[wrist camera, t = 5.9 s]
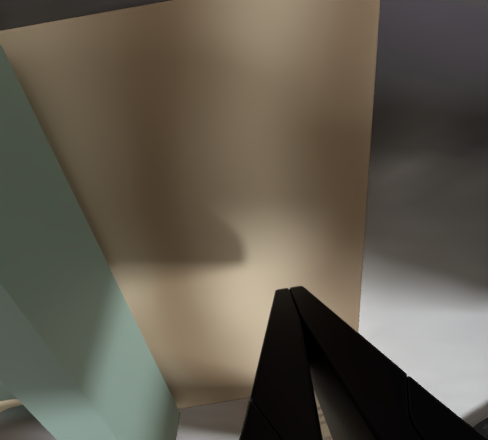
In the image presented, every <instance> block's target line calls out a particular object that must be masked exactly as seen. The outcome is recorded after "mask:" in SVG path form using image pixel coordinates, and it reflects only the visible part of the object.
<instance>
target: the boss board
mask: <svg viewBox="0 0 488 440" xmlns="http://www.w3.org/2000/svg"><path fill="white" fill-rule="evenodd" d="M379 10H380V0H170V1H165V2H159V3H153V4H148V5H142V6H137V7H131V8H125V9H120V10H114V11H109V12H103V13H97V14H92V15H86V16H81V17H75V18H69V19H64V20H58V21H53V22H47V23H41V24H36V25H30V26H25V27H19V28H13V29H8V30H2V31H0V45H1V46H2V47H3V49H4V52H5V54H6V56H7V58H8V60H9V62H10V64H11V66H12V68H13V70H14V72H15V74H16V76H17V78H18V80H19V82H20V84H21V86H22V89H23V91H24V93H25V95H26V97H27V99H28V101H29V103H30V105H31V107H32V109H33V111H34V113H35V115H36V117H37V119H38V121H39V124H40V126H41V128H42V130H43V132H44V134H45V136H46V138H47V140H48V142H49V144H50V146H51V148H52V150H53V152H54V154H55V156H56V159H57V161H58V163H59V165H60V167H61V169H62V171H63V173H64V175H65V177H66V179H67V181H68V183H69V185H70V187H71V189H72V191H73V194H74V196H75V198H76V200H77V202H78V204H79V206H80V208H81V210H82V212H83V214H84V216H85V218H86V220H87V222H88V224H89V226H90V228H91V231H92V233H93V235H94V237H95V239H96V241H97V243H98V245H99V247H100V249H101V251H102V253H103V255H104V257H105V259H106V261H107V263H108V266H109V268H110V270H111V272H112V274H113V276H114V278H115V280H116V282H117V284H118V286H119V288H120V290H121V292H122V294H123V296H124V298H125V301H126V303H127V305H128V307H129V309H130V311H131V313H132V315H133V317H134V319H135V321H136V323H137V325H138V327H139V329H140V331H141V333H142V336H143V338H144V340H145V342H146V344H147V346H148V348H149V350H150V352H151V354H152V356H153V358H154V360H155V362H156V364H157V366H158V368H159V370H160V373H161V375H162V377H163V379H164V381H165V383H166V385H167V387H168V389H169V391H170V393H171V395H172V397H173V399H174V401H175V403H176V405H177V408H178V409H182V408H189V407H195V406H201V405H207V404H213V403H219V402H225V401H231V400H237V399H243V398H250V395H251V391H252V387H253V383H254V379H255V374H256V370H257V366H258V362H259V357H260V353H261V349H262V345H263V341H264V336H265V332H266V328H267V324H268V319H269V315H270V311H271V307H272V303H273V298H274V294H275V291H276V290H277V289H283V288H288V289H290V287H295V286H303V287H305V288H306V289H307V290H308V291H309V292H311V293H312V294H313V295H314V296H315V297H316V298H318V299H319V300H320V301H321V302H322V303H324V304H325V305H326V306H327V307H328V308H329V309H331V310H332V311H333V312H334V313H335V314H337V315H338V316H339V317H340V318H341V319H342V320H344V321H345V322H346V323H347V324H348V325H350V326H351V327H352V328H353V329H354V330H355V331H357V332H358V327H359V312H360V297H361V281H362V266H363V251H364V236H365V221H366V206H367V191H368V176H369V161H370V146H371V131H372V115H373V100H374V85H375V70H376V55H377V40H378V25H379ZM0 440H56V439H55V437H54V436H53V435H52V434H51V433H50V432H49V431H48V430H47V429H46V428H45V427H44V426H43V425H42V424H41V423H40V422H39V421H38V420H37V419H36V418H35V417H34V416H33V415H32V414H31V413H30V412H29V410H28V409H27V408H26V407H25V406H24V405H23V404H22V403H21V402H20V401H19V400H18V399H12V400H6V401H0Z"/></svg>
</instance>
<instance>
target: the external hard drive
mask: <svg viewBox="0 0 488 440" xmlns="http://www.w3.org/2000/svg"><path fill="white" fill-rule="evenodd" d="M473 428H474V429H476V430H477V431H478V432H480V433H481V434H482V435H483V436H485V437H486V438H487V439H488V418H486V419H485V420H483V421H482V422H480V423H479V424H478V425H476V426H475V427H473Z"/></svg>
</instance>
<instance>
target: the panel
mask: <svg viewBox="0 0 488 440" xmlns="http://www.w3.org/2000/svg"><path fill="white" fill-rule="evenodd" d="M12 399H18V400H19V401H20V402H21V403H22V404H23V405H24V406H25V407H26V408H27V409H28V410H29V412H30V413H31V414H32V415H33V416H34V417H35V418H36V419H37V420H38V421H39V422H40V423H41V424H42V425H43V426H44V427H45V428H46V429H47V430H48V431H49V432H50V433H51V434H52V435H53V436H54V437H55V439H56V440H176V436H177V429H178V423H179V417H180V412H179V410H178V408H177V405H176V403H175V401H174V399H173V397H172V395H171V393H170V391H169V389H168V387H167V385H166V383H165V381H164V379H163V377H162V375H161V373H160V370H159V368H158V366H157V364H156V362H155V360H154V358H153V356H152V354H151V352H150V350H149V348H148V346H147V344H146V342H145V340H144V338H143V336H142V333H141V331H140V329H139V327H138V325H137V323H136V321H135V319H134V317H133V315H132V313H131V311H130V309H129V307H128V305H127V303H126V301H125V298H124V296H123V294H122V292H121V290H120V288H119V286H118V284H117V282H116V280H115V278H114V276H113V274H112V272H111V270H110V268H109V266H108V263H107V261H106V259H105V257H104V255H103V253H102V251H101V249H100V247H99V245H98V243H97V241H96V239H95V237H94V235H93V233H92V231H91V228H90V226H89V224H88V222H87V220H86V218H85V216H84V214H83V212H82V210H81V208H80V206H79V204H78V202H77V200H76V198H75V196H74V194H73V191H72V189H71V187H70V185H69V183H68V181H67V179H66V177H65V175H64V173H63V171H62V169H61V167H60V165H59V163H58V161H57V159H56V156H55V154H54V152H53V150H52V148H51V146H50V144H49V142H48V140H47V138H46V136H45V134H44V132H43V130H42V128H41V126H40V124H39V121H38V119H37V117H36V115H35V113H34V111H33V109H32V107H31V105H30V103H29V101H28V99H27V97H26V95H25V93H24V91H23V89H22V86H21V84H20V82H19V80H18V78H17V76H16V74H15V72H14V70H13V68H12V66H11V64H10V62H9V60H8V58H7V56H6V54H5V52H4V49H3V47H2V46H1V45H0V401H6V400H12Z"/></svg>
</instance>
